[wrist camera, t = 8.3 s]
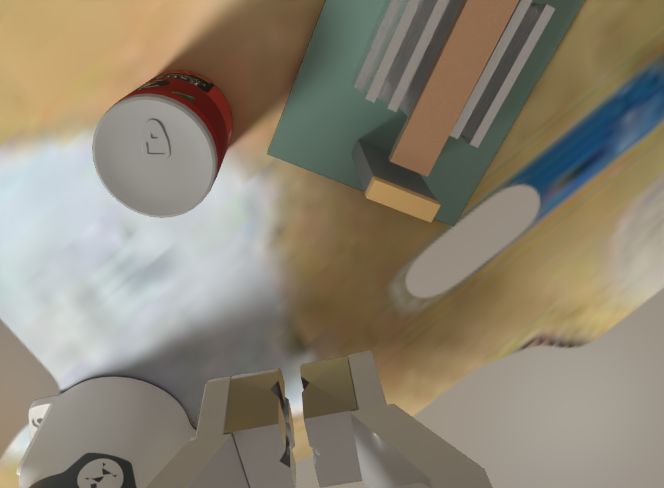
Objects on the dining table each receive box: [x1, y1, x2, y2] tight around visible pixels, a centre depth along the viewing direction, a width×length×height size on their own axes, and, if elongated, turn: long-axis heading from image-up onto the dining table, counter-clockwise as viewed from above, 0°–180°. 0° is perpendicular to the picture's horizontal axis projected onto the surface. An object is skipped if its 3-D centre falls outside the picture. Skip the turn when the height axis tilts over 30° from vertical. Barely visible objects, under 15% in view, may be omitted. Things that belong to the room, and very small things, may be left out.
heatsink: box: [350, 0, 555, 148], centre depth 37 cm, size 10×10×6 cm
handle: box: [388, 0, 519, 177], centre depth 33 cm, size 17×3×2 cm, turn 157°
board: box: [267, 0, 584, 226], centre depth 36 cm, size 24×18×11 cm
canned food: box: [92, 70, 233, 218], centre depth 37 cm, size 8×8×11 cm
